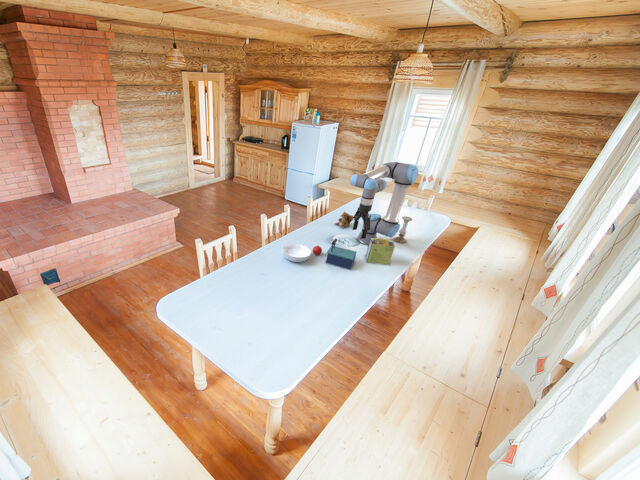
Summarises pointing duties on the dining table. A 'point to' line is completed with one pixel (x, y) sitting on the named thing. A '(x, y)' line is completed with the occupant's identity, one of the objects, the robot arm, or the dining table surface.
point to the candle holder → (403, 230)
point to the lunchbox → (340, 261)
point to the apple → (317, 250)
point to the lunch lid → (341, 251)
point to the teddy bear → (345, 220)
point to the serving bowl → (296, 252)
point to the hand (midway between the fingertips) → (358, 233)
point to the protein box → (380, 251)
